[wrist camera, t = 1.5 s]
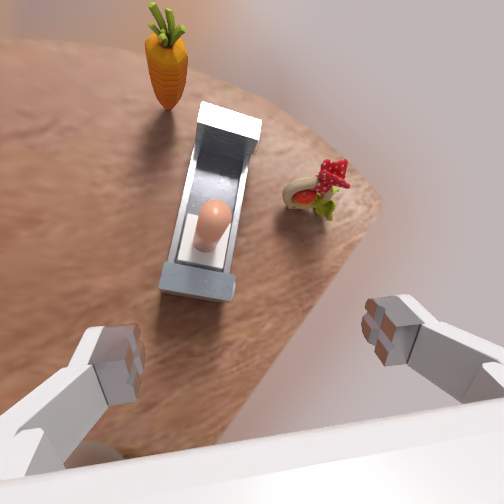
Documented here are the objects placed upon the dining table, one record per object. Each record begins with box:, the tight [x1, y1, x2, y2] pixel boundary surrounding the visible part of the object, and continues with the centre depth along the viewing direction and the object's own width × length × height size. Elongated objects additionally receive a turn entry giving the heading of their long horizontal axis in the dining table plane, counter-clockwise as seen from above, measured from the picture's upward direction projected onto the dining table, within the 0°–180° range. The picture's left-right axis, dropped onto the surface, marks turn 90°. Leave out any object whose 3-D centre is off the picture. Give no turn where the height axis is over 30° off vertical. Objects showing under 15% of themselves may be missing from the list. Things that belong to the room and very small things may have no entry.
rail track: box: [158, 102, 262, 304], centre depth 38 cm, size 8×24×8 cm, turn 171°
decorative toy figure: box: [283, 159, 350, 221], centre depth 41 cm, size 6×11×9 cm
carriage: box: [177, 200, 232, 271], centre depth 33 cm, size 6×6×13 cm
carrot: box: [145, 2, 188, 110], centre depth 37 cm, size 5×5×15 cm
